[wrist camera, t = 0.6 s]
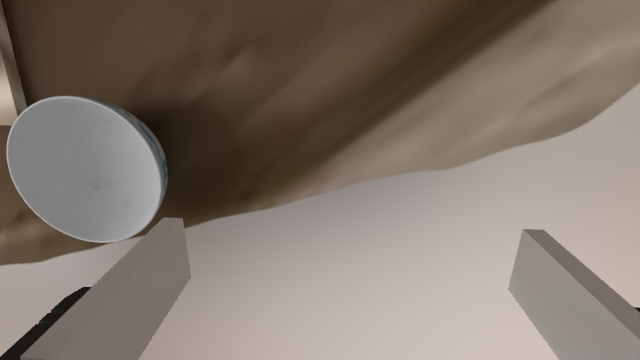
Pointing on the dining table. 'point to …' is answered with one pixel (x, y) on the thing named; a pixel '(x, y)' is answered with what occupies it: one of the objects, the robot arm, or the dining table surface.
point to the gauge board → (9, 78)
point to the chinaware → (87, 167)
